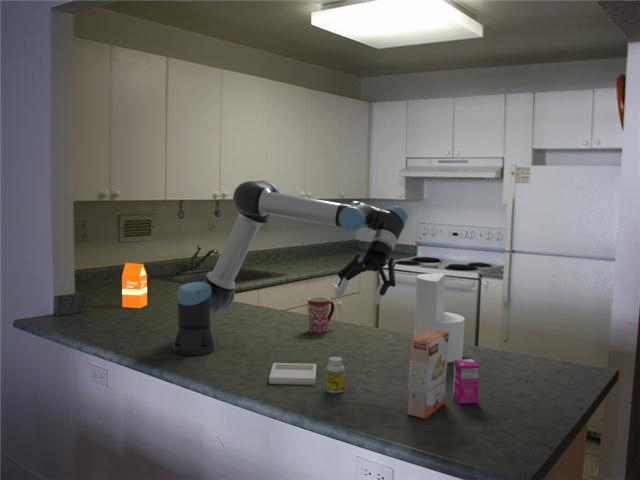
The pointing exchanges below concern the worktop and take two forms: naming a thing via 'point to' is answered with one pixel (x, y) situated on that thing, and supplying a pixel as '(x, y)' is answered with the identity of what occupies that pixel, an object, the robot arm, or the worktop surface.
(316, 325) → the mug
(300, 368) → the tray
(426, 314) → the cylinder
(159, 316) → the worktop surface
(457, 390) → the supplement box
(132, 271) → the orange juice
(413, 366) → the cracker box
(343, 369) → the supplement bottle
